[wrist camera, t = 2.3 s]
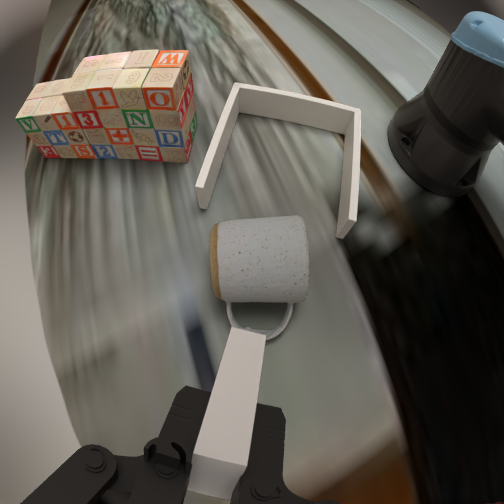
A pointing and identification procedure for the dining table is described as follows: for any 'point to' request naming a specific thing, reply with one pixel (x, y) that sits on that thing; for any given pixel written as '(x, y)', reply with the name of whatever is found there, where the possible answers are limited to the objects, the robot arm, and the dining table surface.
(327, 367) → the dining table surface
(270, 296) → the ceramic mug
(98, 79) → the stack of blocks
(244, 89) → the white u-shaped bracket
